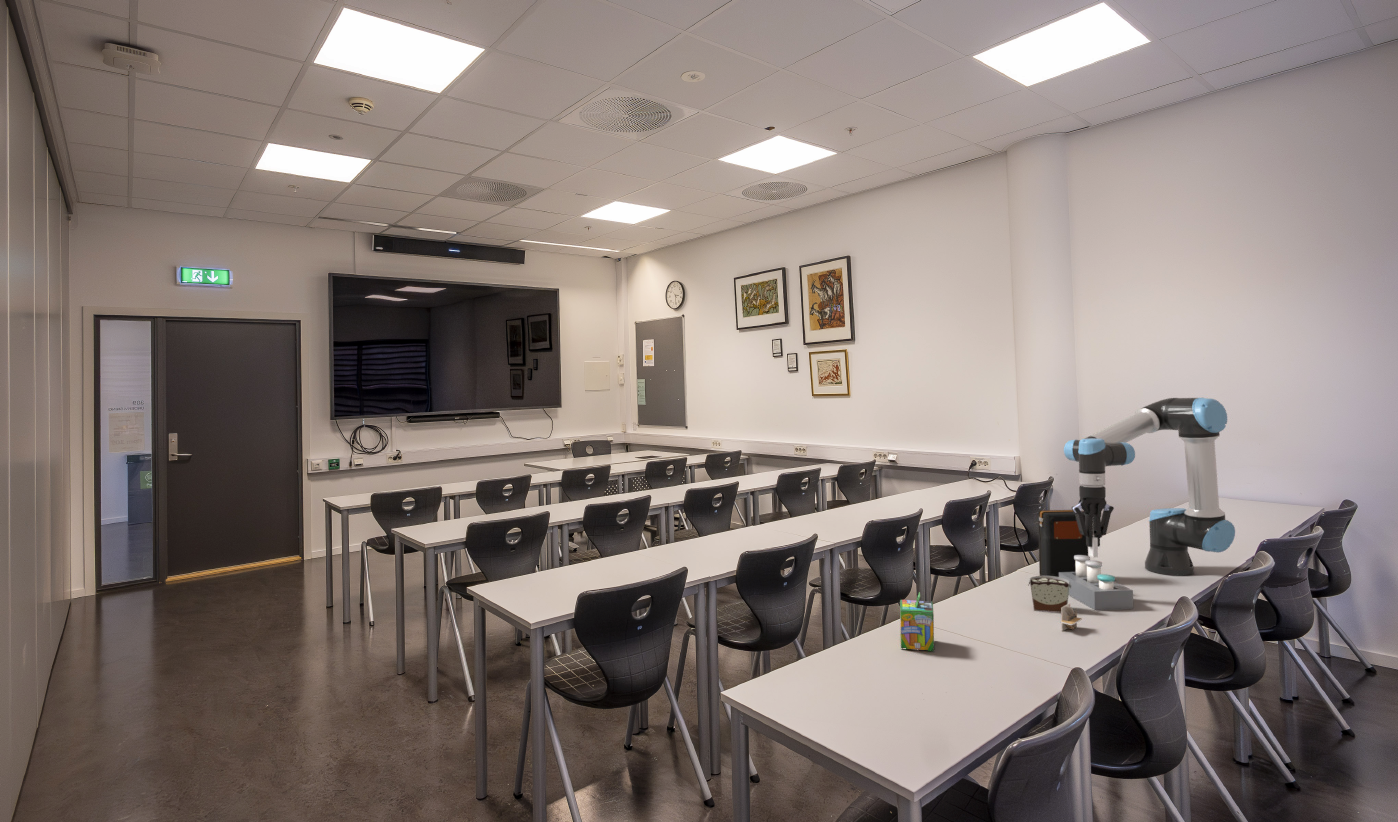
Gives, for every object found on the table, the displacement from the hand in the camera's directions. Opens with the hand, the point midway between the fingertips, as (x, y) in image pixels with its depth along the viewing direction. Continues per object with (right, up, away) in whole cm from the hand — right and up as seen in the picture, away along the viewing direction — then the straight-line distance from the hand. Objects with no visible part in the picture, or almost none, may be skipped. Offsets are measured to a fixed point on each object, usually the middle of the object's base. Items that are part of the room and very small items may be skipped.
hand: (1093, 556), depth 227 cm
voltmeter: (+3, -13, +23) cm, 27 cm away
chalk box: (-69, -19, -33) cm, 78 cm away
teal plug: (+1, -13, -6) cm, 14 cm away
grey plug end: (+1, -10, +7) cm, 12 cm away
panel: (+1, -14, +1) cm, 14 cm away
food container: (-18, -16, -7) cm, 25 cm away
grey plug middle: (+1, -10, 0) cm, 10 cm away
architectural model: (-22, -17, -25) cm, 37 cm away
